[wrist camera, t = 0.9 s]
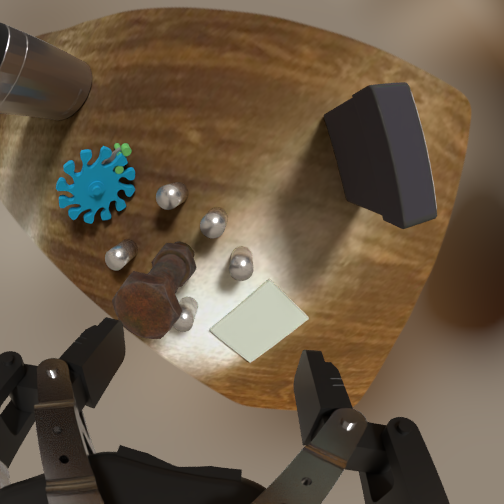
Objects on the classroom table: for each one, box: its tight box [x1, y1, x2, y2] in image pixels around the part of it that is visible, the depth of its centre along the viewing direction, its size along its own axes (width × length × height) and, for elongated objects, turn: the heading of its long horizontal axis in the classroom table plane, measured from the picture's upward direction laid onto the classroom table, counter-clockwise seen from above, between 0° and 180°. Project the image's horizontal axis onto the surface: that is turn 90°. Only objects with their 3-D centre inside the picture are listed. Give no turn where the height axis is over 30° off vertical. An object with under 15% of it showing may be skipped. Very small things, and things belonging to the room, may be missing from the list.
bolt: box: [112, 242, 196, 339], centre depth 27 cm, size 6×5×15 cm
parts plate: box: [210, 278, 309, 363], centre depth 37 cm, size 8×11×1 cm
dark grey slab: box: [324, 82, 437, 229], centre depth 24 cm, size 11×4×15 cm, turn 17°
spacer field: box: [105, 182, 253, 332], centre depth 32 cm, size 14×15×4 cm
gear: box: [56, 143, 135, 224], centre depth 29 cm, size 11×6×10 cm
